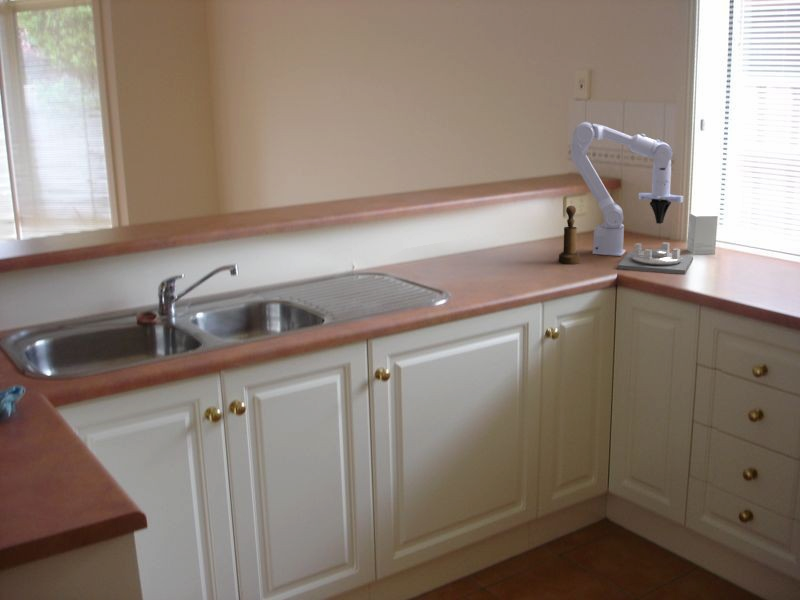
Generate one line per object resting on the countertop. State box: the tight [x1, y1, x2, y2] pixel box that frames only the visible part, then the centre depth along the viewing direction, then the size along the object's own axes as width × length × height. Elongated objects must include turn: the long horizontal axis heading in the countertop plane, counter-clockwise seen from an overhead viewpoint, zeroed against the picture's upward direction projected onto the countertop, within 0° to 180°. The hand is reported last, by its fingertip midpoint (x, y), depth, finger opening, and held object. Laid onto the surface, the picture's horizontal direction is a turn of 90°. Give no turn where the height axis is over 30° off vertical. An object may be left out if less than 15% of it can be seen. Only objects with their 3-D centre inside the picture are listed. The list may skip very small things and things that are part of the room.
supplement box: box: [686, 211, 719, 255], centre depth 310 cm, size 7×7×13 cm
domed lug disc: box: [632, 241, 682, 265], centre depth 294 cm, size 15×15×4 cm
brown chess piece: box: [558, 205, 581, 265], centre depth 297 cm, size 7×6×18 cm
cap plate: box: [617, 251, 694, 275], centre depth 295 cm, size 20×20×1 cm
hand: (659, 223), depth 305 cm, fingers closed
